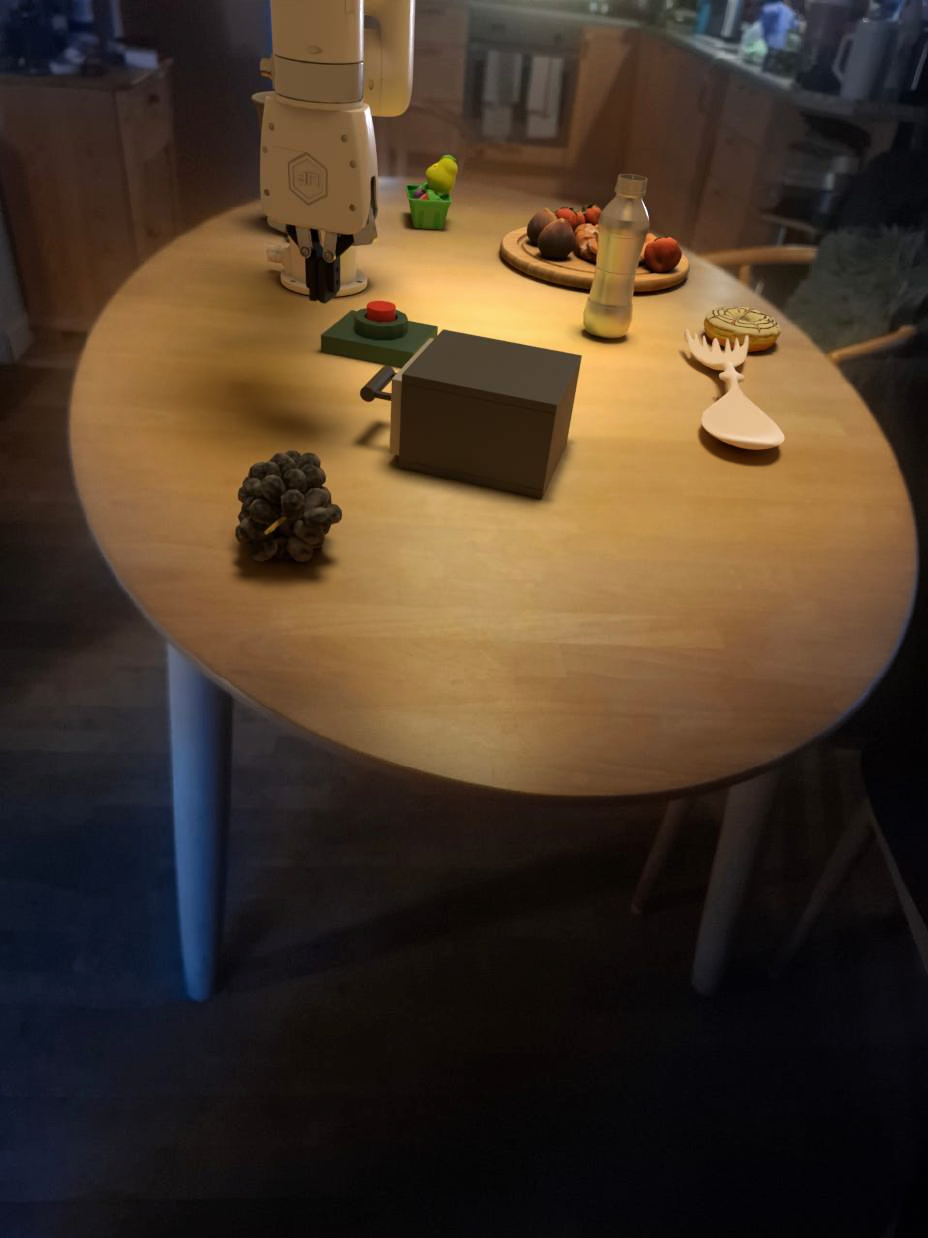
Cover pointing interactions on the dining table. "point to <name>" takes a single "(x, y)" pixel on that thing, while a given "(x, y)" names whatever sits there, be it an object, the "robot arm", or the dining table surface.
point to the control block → (376, 338)
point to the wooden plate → (585, 251)
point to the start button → (381, 311)
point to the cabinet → (487, 411)
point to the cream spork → (734, 400)
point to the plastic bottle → (617, 259)
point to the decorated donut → (742, 327)
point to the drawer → (390, 395)
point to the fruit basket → (433, 195)
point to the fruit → (285, 507)
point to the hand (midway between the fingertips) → (323, 297)
